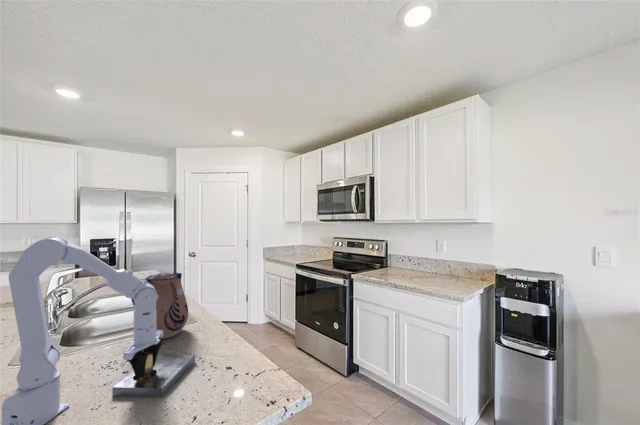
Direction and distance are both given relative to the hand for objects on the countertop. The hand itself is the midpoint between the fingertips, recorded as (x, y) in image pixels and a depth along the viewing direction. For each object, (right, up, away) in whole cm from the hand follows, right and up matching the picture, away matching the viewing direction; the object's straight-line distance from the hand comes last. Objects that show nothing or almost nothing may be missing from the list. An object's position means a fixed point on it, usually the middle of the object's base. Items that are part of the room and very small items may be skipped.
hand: (145, 371), depth 81 cm
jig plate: (+2, -3, +3) cm, 5 cm away
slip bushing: (0, -2, 0) cm, 2 cm away
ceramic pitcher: (-14, -4, +32) cm, 35 cm away
